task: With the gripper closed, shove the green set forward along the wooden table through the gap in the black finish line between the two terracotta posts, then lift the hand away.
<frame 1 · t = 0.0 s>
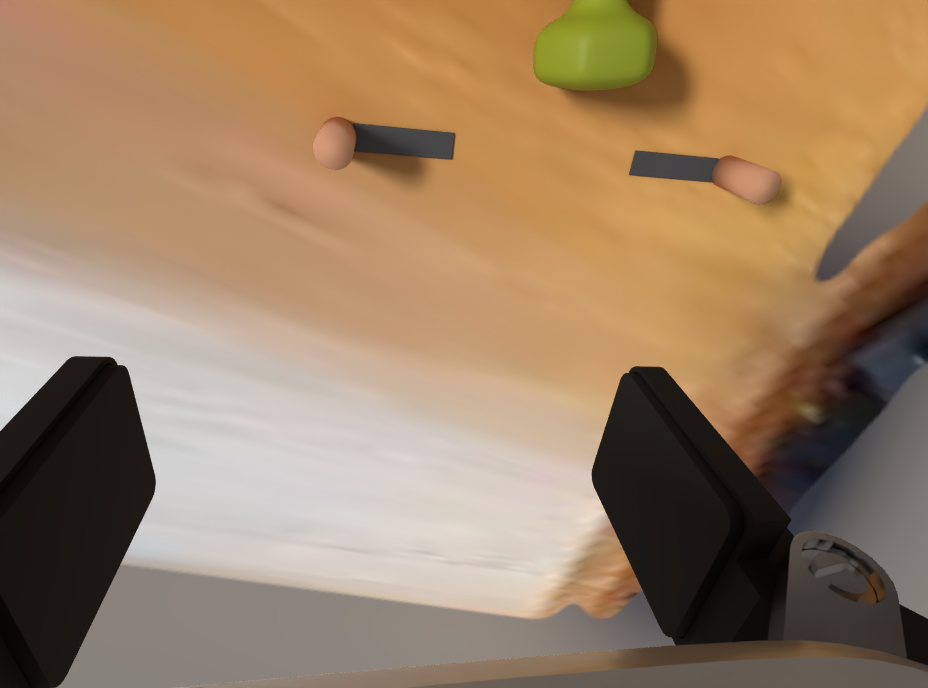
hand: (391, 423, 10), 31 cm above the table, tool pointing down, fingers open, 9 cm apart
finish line: (545, 154, 39), on the table
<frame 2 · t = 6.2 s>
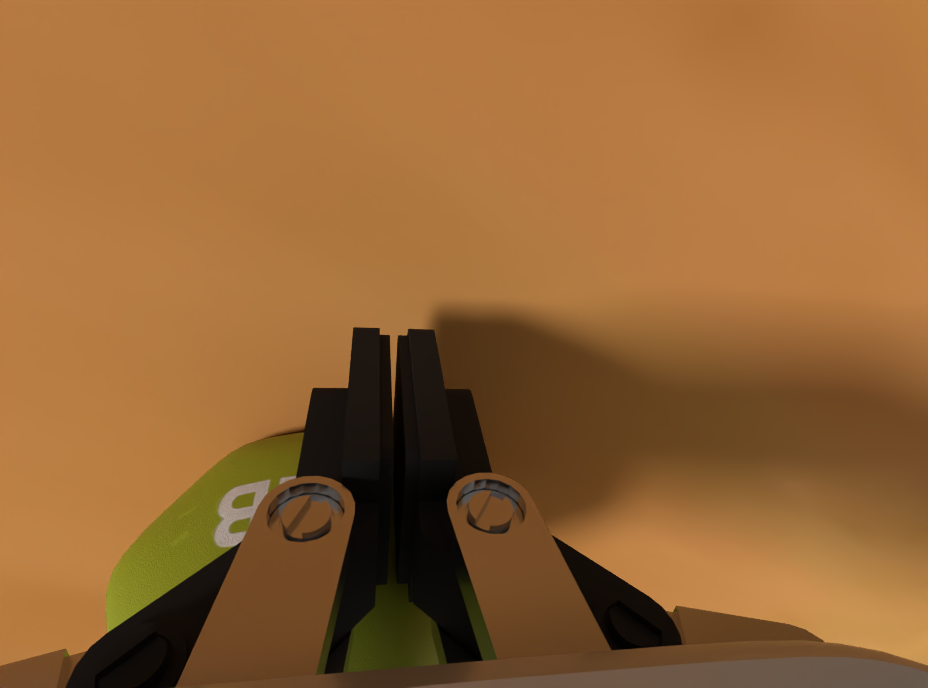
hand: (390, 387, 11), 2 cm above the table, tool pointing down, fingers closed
dumbbell: (364, 588, 18), on the table, touching gripper
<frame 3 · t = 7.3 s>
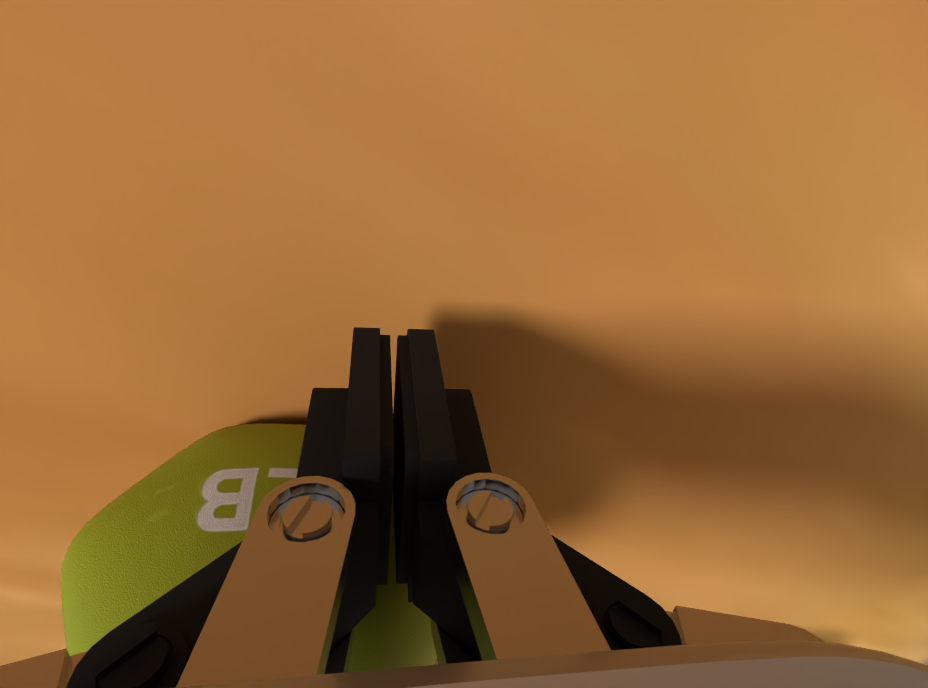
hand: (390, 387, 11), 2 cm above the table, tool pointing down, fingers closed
dumbbell: (304, 592, 17), on the table, touching gripper
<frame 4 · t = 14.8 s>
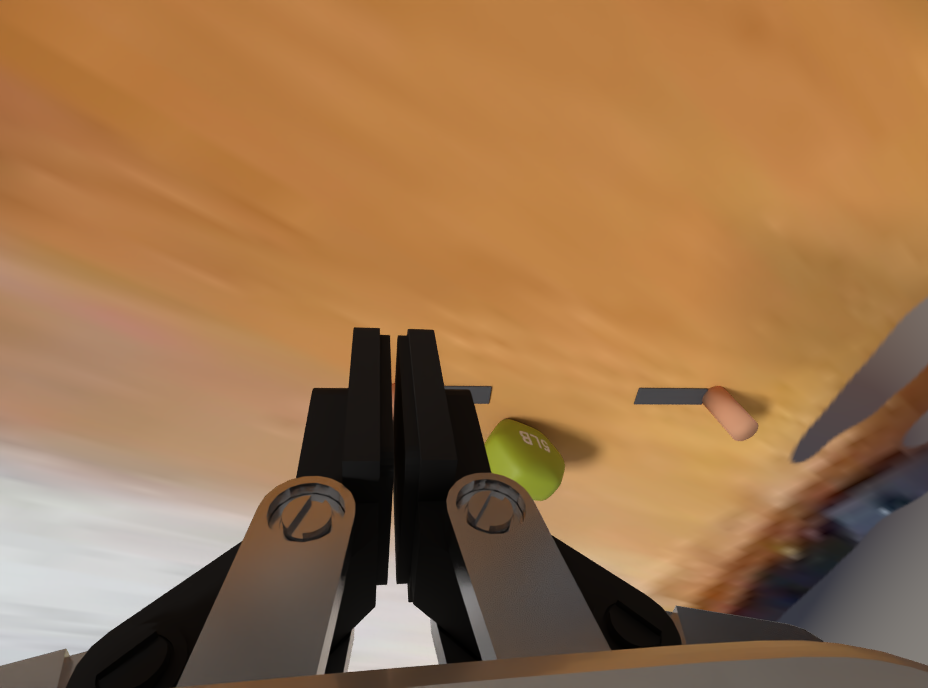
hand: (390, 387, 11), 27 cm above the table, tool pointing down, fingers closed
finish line: (565, 395, 47), on the table
dumbbell: (479, 475, 51), on the table
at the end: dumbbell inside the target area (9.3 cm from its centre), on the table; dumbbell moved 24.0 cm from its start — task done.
